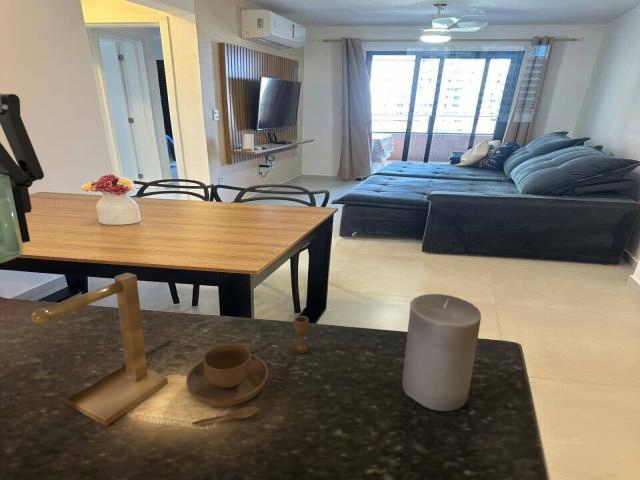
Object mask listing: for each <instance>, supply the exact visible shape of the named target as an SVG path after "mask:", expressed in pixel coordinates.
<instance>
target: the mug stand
mask: <svg viewBox="0 0 640 480" xmlns="http://www.w3.org/2000/svg"><path fill="white" fill-rule="evenodd" d="M138 286H139V285H138V277H137V274H134V273H130V272H124V273H122V274H118V275H116V276H114V282H113V283H110V284H107V285H104V286H102V287H100V288H97V289H94V290H90V291H89V292H86V293H83V294H80V295H77V296H74V297H72V298H70V299H65V300H63V301H61V302H58V303H56V304H53V305H50V306H48V307H45V308H44V307H43V308H37V309H35V310H33V311H32V313H31V315H30V320H31V322H32V323H33V324H35V325H44V324H46V323H48V322H49V321H50V320H53V319H54V318H57V317H60V316H62V315H64V314H67V313H70V312H73V311H75V310H77V309H80V308H82V307H85V306H87V305H90V304H92V303H96V302H97V301H101V300H103V299H105V298H109V297H111V296H113V295H116V300H117V308H118V316H119V324H120V332H121V340H122V346H123V353H124V361H125V365H123V366H121V367H120V368H118V369H117V370H115V371H113V372H112V373H110V374H108V375H107V376H104V377H103V378H101V379H99V380H98V381H96V382H94V383H92V384H91V385H89V386H88V387H86V388H84V389H82V390H80V391H79V392H77V393H76V394H74V395H72V396H71V397H69V398H67V399H65V400H63V401H62V403H63V404H65V405H66V406H68V407H70V408H72V409H73V410H75V411H77V412H79V413H81V414H82V415H84V416H86V417H88V418H90V419H92V420H94V421H95V422H98V423H99V424H101V425H103V426H104V427H108V426H109V425H110V424H112V423H113V422H115V421H116V420H118V419H119V418H120V417H122V416H123V415H124V414H126V413H127V412H129V411H130V410H132V409H134V408H135V407H136V406H137V405H139V404H140V403H142V402H143V401H144V400H146V399H147V398H148V397H151V395H154V393H156V392H157V391H158V390H160V389H161V388H163V387H164V386H166V385H167V384H168V383H169V378H168V376H165V375H163V374H161V373H158V372H155V371H154V370H151V369H149V368H148V367H147V366H148V365H147V356H146V348H145V338H144V330H143V323H142V312H141V303H140V295H139V287H138Z"/></svg>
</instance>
